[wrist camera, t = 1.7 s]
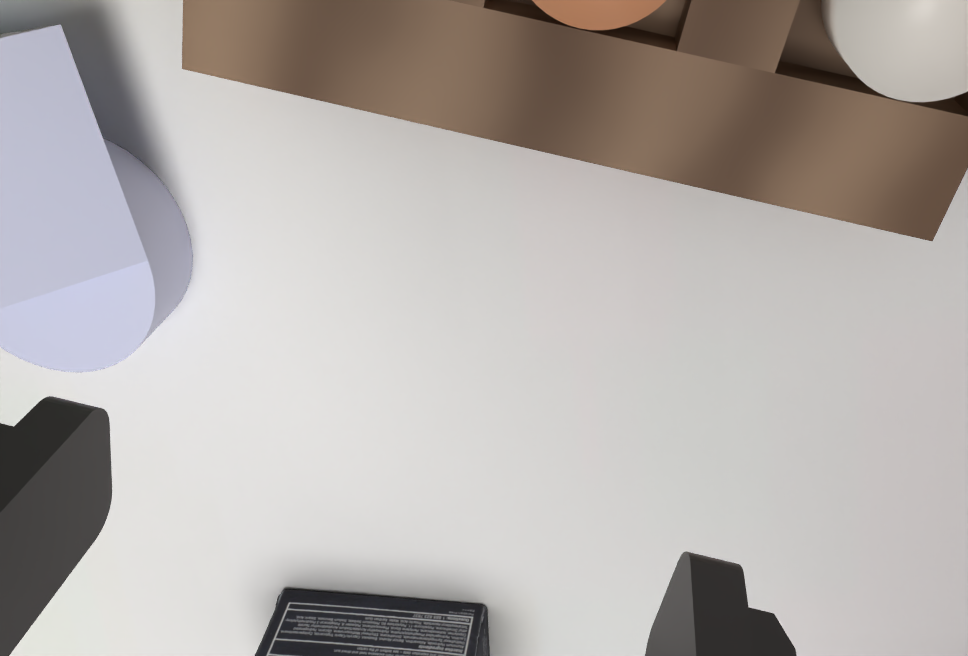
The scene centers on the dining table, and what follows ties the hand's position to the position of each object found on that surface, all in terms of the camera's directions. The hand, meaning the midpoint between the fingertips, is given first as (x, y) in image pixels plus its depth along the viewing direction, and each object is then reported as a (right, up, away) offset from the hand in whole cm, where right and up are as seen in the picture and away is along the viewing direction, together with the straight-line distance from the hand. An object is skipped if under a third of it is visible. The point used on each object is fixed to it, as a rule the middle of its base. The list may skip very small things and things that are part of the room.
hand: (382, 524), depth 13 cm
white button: (+14, +12, +14) cm, 23 cm away
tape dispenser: (-15, +8, +24) cm, 30 cm away
